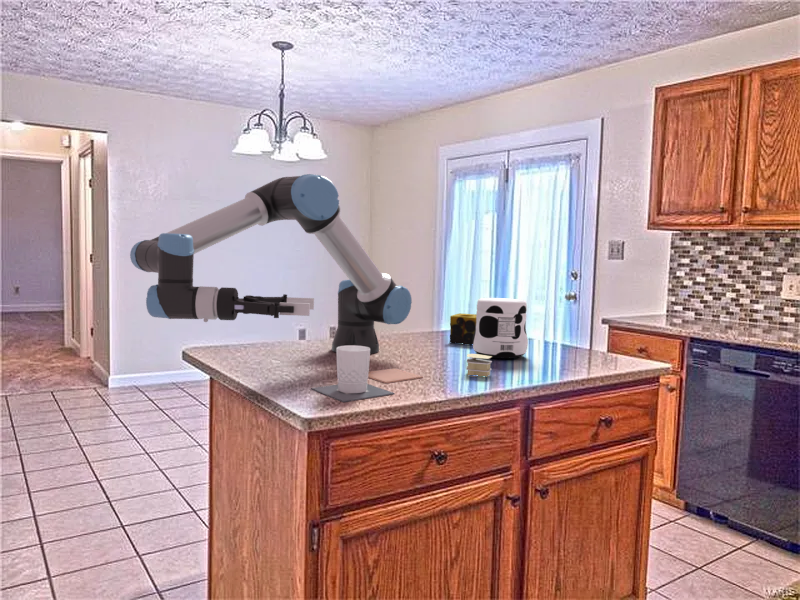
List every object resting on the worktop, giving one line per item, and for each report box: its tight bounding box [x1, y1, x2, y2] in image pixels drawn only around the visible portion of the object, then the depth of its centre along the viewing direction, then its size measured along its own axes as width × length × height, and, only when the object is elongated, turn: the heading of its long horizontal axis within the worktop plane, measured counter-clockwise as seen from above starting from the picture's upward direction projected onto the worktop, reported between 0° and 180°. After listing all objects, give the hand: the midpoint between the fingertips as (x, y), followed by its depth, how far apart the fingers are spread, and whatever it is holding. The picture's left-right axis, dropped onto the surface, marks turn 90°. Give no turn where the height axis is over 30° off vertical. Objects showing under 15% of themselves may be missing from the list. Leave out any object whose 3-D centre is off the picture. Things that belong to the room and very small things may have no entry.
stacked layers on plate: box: [466, 353, 493, 378], centre depth 168 cm, size 10×9×6 cm
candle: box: [449, 313, 477, 345], centre depth 223 cm, size 10×10×10 cm
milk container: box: [472, 297, 529, 359], centre depth 197 cm, size 17×17×18 cm
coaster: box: [368, 367, 424, 384], centre depth 163 cm, size 12×12×1 cm
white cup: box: [335, 345, 371, 394], centre depth 145 cm, size 8×8×10 cm
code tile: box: [311, 383, 395, 403], centre depth 145 cm, size 14×14×1 cm
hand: (311, 306), depth 144 cm, fingers open, 13 cm apart
